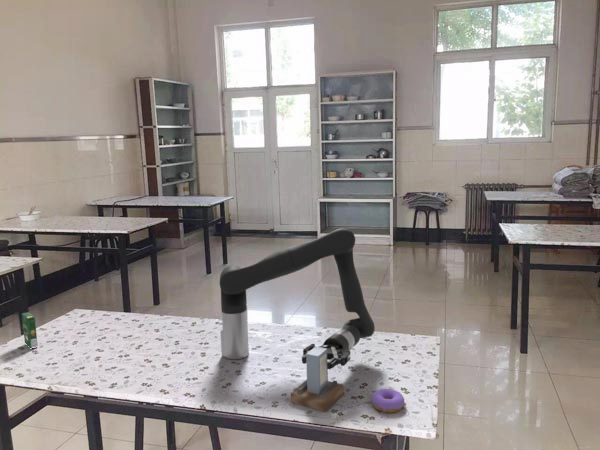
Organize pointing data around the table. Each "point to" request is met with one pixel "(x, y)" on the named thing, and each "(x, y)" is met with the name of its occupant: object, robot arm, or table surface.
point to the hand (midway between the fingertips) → (315, 363)
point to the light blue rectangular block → (317, 370)
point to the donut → (388, 400)
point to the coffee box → (29, 329)
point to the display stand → (318, 396)
